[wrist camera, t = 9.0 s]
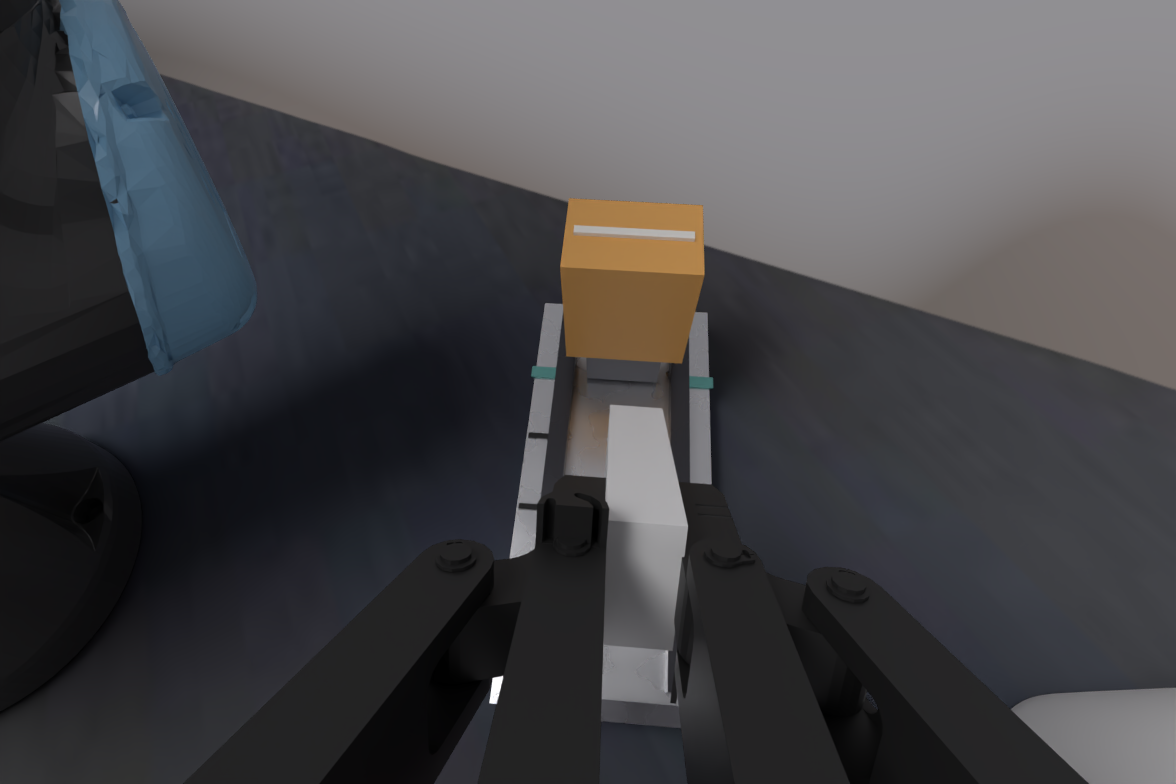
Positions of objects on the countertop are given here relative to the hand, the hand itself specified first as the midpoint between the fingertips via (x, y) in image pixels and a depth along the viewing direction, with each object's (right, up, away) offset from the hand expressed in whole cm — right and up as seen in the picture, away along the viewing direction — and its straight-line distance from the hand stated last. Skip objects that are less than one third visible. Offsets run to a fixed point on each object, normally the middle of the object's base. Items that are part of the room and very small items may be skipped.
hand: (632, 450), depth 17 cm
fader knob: (+1, +4, +17) cm, 18 cm away
